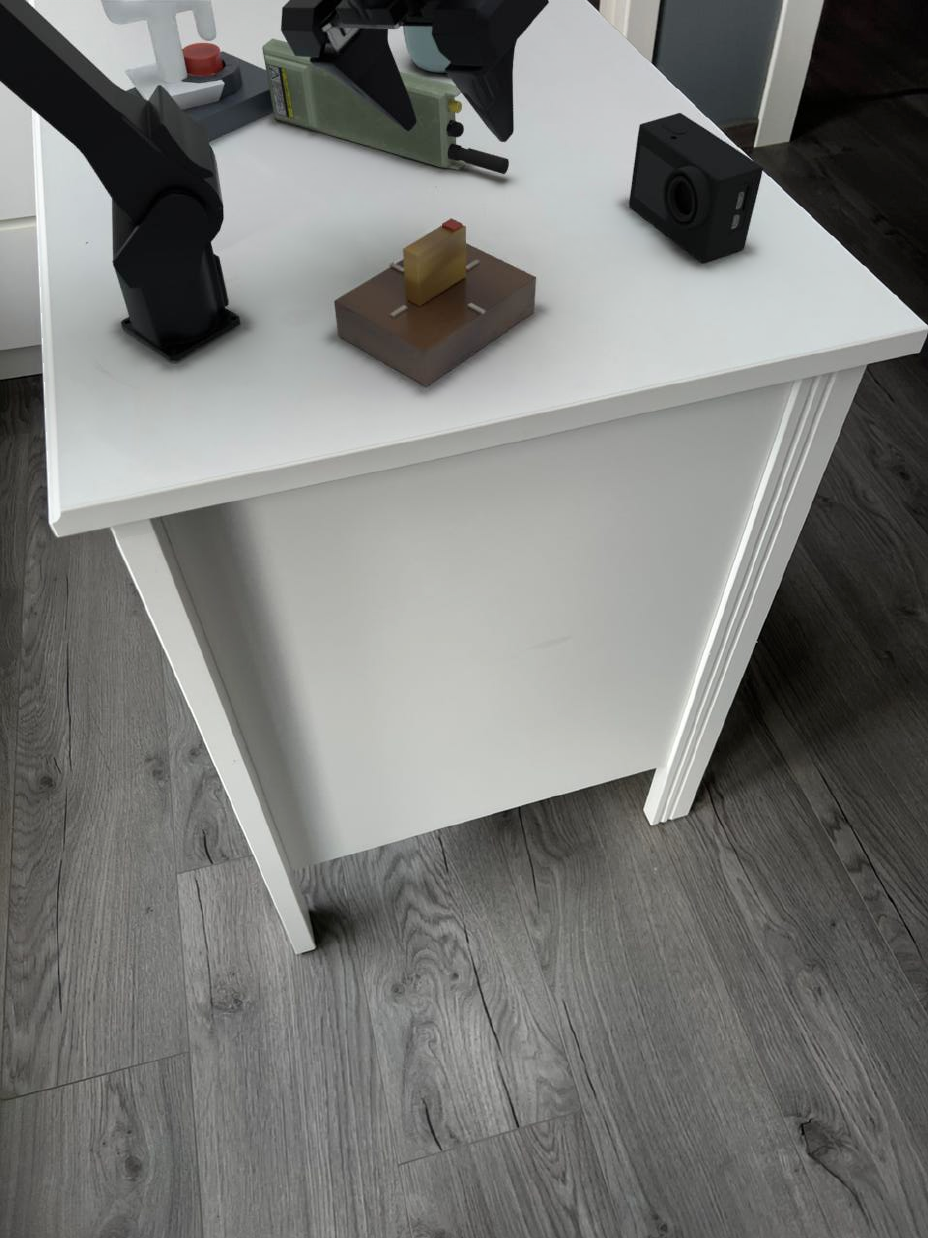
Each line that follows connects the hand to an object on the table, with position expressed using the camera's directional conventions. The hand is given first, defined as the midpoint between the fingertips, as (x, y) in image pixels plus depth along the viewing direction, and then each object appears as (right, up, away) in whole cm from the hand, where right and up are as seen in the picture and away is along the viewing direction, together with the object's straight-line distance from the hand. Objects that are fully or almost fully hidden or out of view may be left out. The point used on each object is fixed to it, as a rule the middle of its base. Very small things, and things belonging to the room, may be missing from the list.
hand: (457, 131), depth 68 cm
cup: (-2, +24, +35) cm, 42 cm away
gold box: (-2, -9, +4) cm, 10 cm away
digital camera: (+18, -1, +15) cm, 24 cm away
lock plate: (-2, -11, +7) cm, 13 cm away
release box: (-24, +16, +29) cm, 41 cm away
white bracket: (-26, +20, +20) cm, 39 cm away
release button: (-24, +18, +26) cm, 40 cm away
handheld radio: (-7, +10, +24) cm, 27 cm away
